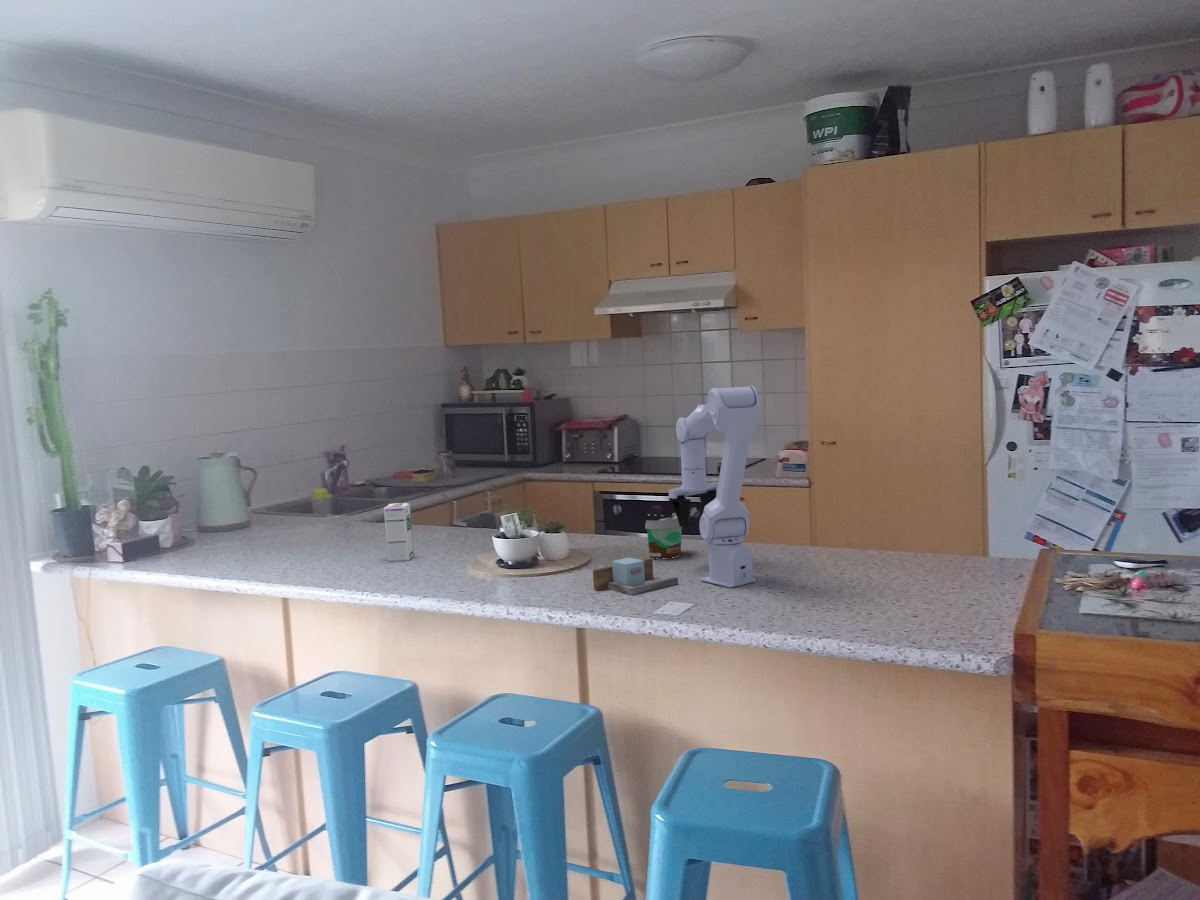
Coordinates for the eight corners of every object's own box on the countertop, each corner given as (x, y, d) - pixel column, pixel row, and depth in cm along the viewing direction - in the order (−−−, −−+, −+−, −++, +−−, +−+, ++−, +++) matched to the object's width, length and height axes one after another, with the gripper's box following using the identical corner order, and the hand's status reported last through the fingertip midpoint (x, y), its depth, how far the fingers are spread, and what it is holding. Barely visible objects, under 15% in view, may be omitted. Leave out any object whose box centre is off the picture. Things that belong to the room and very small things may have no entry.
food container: (666, 562, 232) (664, 522, 230) (646, 560, 235) (644, 520, 234) (695, 553, 241) (693, 514, 240) (675, 550, 245) (673, 512, 244)
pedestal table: (678, 584, 210) (677, 564, 210) (621, 597, 201) (620, 576, 200) (649, 576, 218) (649, 557, 218) (593, 589, 209) (592, 569, 208)
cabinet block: (647, 588, 208) (646, 561, 208) (629, 592, 205) (628, 565, 205) (630, 583, 213) (629, 557, 212) (613, 587, 210) (611, 561, 209)
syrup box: (409, 560, 248) (405, 505, 246) (387, 561, 248) (383, 506, 246) (414, 555, 253) (410, 502, 252) (392, 556, 254) (388, 503, 252)
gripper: (704, 463, 232) (706, 518, 234) (659, 470, 224) (661, 527, 225) (724, 465, 227) (726, 521, 228) (679, 472, 218) (681, 530, 219)
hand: (695, 524), depth 226 cm, fingers open, 7 cm apart
